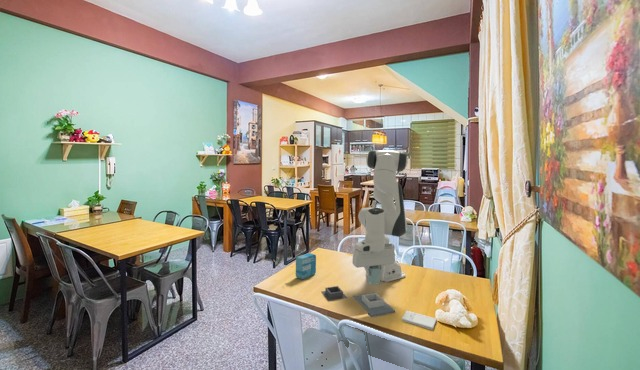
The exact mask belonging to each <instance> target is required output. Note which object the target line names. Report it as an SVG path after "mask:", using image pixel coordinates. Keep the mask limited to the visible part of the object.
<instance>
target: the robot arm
mask: <svg viewBox="0 0 640 370" xmlns="http://www.w3.org/2000/svg"><path fill="white" fill-rule="evenodd" d="M407 156H408V155H407V153H406V152H404V151H396V150H389V149H388V150H385V149H383V150H382V149H381V150H378V149H377V150H376V149H373V150H370V151H368V154H367V156H366V161H365V162H366V165H367V167H368V168H370V169H373V170H374V171H373V179H372V181H373V185H374V186H373V193H372V195H373V198H374V199H375V201H377V202H378V203H379V204H380V205H381V207H371V206H369V207H362V208H361V209H360V210H359V212H358V218H357V219H358V221H359V223H360V224H361V225H362V226H363V227H364V229H365V237H364V239H363V240H361V241H358V242H356V243H354V248H355V249H354V250H353V253H352V265H353V267H355V268H363V269H364V270H365V276H366V277H368V276H370V275H371V272H370V271H369V270H368V269H369V266H377V265H378V266H379V268H380V281H382V282H384V283H385V282H386V283H388V282H392V281H395V280H399V279H403V278H406V273H405V272H404V271H403V270H402V266H401V265H400V263H398V261H396V253H395V245H394V244H393V243H390V238H389V236H393V237H397V238H400V237H402V236H403V235H405V234H406V232H407V231H408V223H407V222H408V221H407V219H406V218H407V217H406V214H405V204H404V201H405V200H404V195H403V188H402V185H401V184H400V183H399V182H398V181H397V177H396V176H397V174H399V173H401V172H403V171H404V170H405V169H406V167H407V166H408V163H409V161H408V159H409V158H408V157H407Z"/></svg>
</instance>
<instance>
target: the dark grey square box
mask: <svg viewBox="0 0 640 370" xmlns="http://www.w3.org/2000/svg"><path fill="white" fill-rule="evenodd" d="M321 294H322V295H323V296H324V297H325V299H326V300H327V301H328V302H331V301H337V300H338V301H339V300H343V299H348V296H347V295H346V294H345V293H344V291H343V290H342V289H341V288H340V286H338V285H336V286H335V285H334V286H328V287H325V289H324V290H323V291H321Z"/></svg>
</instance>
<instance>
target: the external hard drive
mask: <svg viewBox="0 0 640 370" xmlns="http://www.w3.org/2000/svg"><path fill="white" fill-rule="evenodd" d="M437 321H438V319H437V318H435V317H432V316H428V315H424V314H421V313H417V312H413V311H410V310H406V311H405V313H404V314H403V315H402V317H401V322H404V323H408V324H410V325H411V324H412V325H414V326H418V327H421V328H424V329H427V330H431V331H434V329H435V326H436V323H437Z"/></svg>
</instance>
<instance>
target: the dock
mask: <svg viewBox="0 0 640 370" xmlns="http://www.w3.org/2000/svg"><path fill="white" fill-rule="evenodd" d="M352 297H353V298H354V299H355V300H356V301H357V303H358V304H359V305H361V306H362V308H363V309H365V311H366V312H367V316H369V317H370V318H374V317H375V318H376V317H381V316H386V315H391V314H395V313H396V310H395V309H394V308H393V307H392V306H390V305H389V304H388V303H387V302H386V300H385V299H384V298H383V297H381V296H380V295H379V294H378V293H377V292H370V293H364V294H363V293H362V294H357V295H352Z"/></svg>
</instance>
